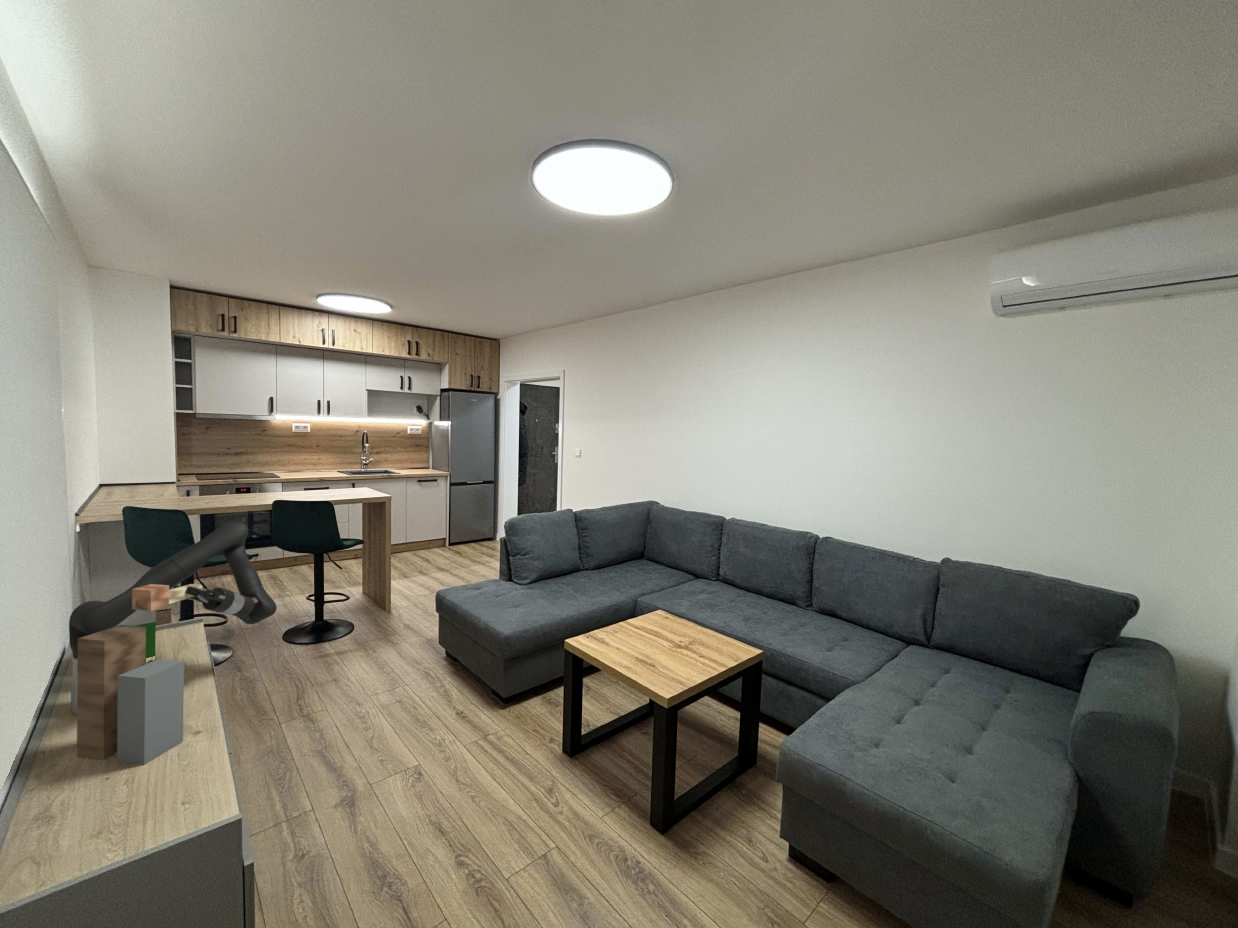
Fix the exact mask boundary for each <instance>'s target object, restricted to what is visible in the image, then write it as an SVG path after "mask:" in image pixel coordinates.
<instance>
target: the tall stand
mask: <svg viewBox="0 0 1238 928" xmlns="http://www.w3.org/2000/svg"><path fill="white" fill-rule="evenodd" d="M146 664H147V662H146V627H141V626H128V625H119V626H116V627H113V628H110V629H106V630H103V631H100V632H97V633H94V634H91V635H87V636H84V637H81V638H78V666H77V714H76V758H78V759H79V758H80V759H81V758H82V759H88V760H89V759H90V760H98V761H105V760H107V759H108V758H111V757H112V756H114V755H117V717H118V675H121V674H123V673H126V672H128V671H131V670H133V669H136V668H138V667H141V666H143V665H146Z"/></svg>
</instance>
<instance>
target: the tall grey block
mask: <svg viewBox="0 0 1238 928" xmlns="http://www.w3.org/2000/svg"><path fill="white" fill-rule="evenodd" d="M184 671H185V661H184V660H172V659H171V660H170V659H162V658H161V659H160V658H158V659H155V661H151V662H147V663H146V665H143V666H141V667H138V668H136V669H133V670H131V671H128V672H126V673H123V674H121V675H118V717H117V753H116V762H117V763H125V764H136V765H146V764H148V763H150V762H151V761H154V760H155V759H156V758H159V756H162V755H163V754H165V753H167V752H168V751H170V750H171V749H173V748H175V747H176V746H178V745H180V744H182V743H183V742H184V685H185V683H184V678H185V676H184V675H185V672H184Z"/></svg>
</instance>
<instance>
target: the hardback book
mask: <svg viewBox="0 0 1238 928" xmlns="http://www.w3.org/2000/svg"><path fill="white" fill-rule="evenodd" d="M107 601H108V600H106V601H103V602H107ZM156 612H157V609H155V610H152V611H145V610H137V611H135V612H134V613H133V614H131V615H130V616H129V617H127V618H126V619H125V620H123V621H122V622H121V623H119V624H118V625H117V626H119V625H128V626H141V627H146V658H149V657H153V656H155V657H156V642H157V641H156V638H157V637H156V631H157V630H156V629H157V628H156V626H157V625H156V624H157V623H156V621H157V618H156V617H157V613H156ZM115 627H116V626H115Z"/></svg>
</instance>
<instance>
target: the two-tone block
mask: <svg viewBox="0 0 1238 928" xmlns="http://www.w3.org/2000/svg"><path fill="white" fill-rule="evenodd" d="M188 586H190V587H194V588H198V589H203V585H202V584H194V583H189V584H186V585H181V587H179V588H175V589H173V588H171V589H169V585H155V584H150V585H146V586H142V587H138V588H134V589H132V610H145V611H152V610H155V609H156V610H159V609H161V608H165V607H168V606H170V605H171V604H174V603H177V602H181V601H184V600H188V599H187V598H191V597H193V598H194V596H193V595H189V594H186V593H185V591H186V589H187V587H188Z"/></svg>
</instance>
